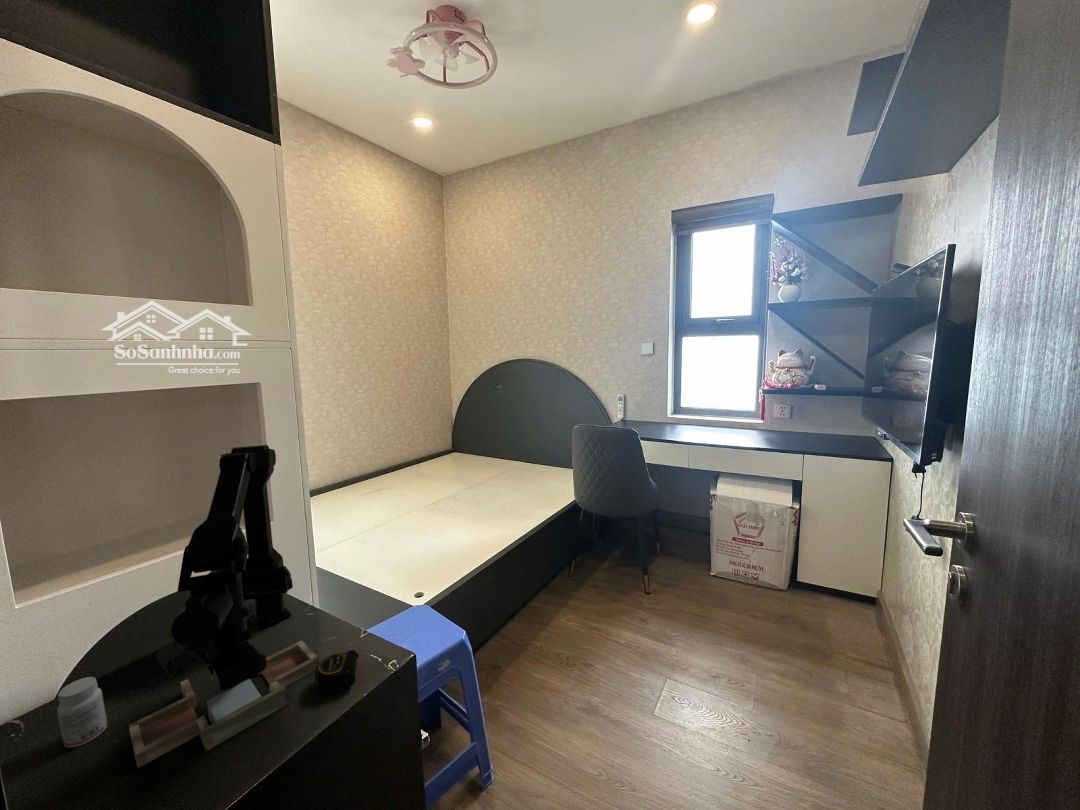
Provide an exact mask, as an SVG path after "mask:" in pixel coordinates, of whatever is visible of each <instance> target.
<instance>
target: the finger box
mask: <svg viewBox="0 0 1080 810" xmlns="http://www.w3.org/2000/svg"><path fill="white" fill-rule="evenodd" d="M266 663H267V667H266V668H265V669H264V670H263V671H261V672H259V673H257V674H256V675H257V676H260V675H262V677H263V678H264V680H265V681H266V682H267V684H268V689H269V693H267V694H265V695H263V696H261V698H259V699H258V700H256V701H254V702H252V703H250V704H248V705H247V706H245V707H243V708H241V709H239V710H237V711H236V712H234V713H232V714H230V715H228V716H227V717H225V718H223V719H221V720H219V721H217V722H216V723H214V724H210V725H209V723H208V721H207V719H206V716H205V715H202V716H200V717H198V716H197V714H196V711H195V708H198V705H197V700H196V699H197V698H196V694H195V692H194V690H193V688H192V685H191V683H190V681H189V679H188V678H187V679H185V680H183V681H181V682H179V683H180V690H181V694H182V696H183V698H182V699H179V700H177V701H175V702H173V703H171V704H169V705H167V706H164V707H163V708H161V709H159V710H156V711H154V712H153V713H150V714H149V715H146V716H144V717H143V718H140V719H139V720H136V721H134V722H131V723H130V724H129V725H128V730H129V736H130V739H131V745H132V749H133V753H134V758H135V762H136V767H137V769H139V768H141V767H143V766H145V765H146V764H149V763H151V762H152V761H154V760H156V759H158V758H159V757H161V756H163V755H165V754H167V753H168V752H170V751H172V750H174V749H176V748H178V747H179V746H181V745H182V744H185V743H187V742H188V741H190V740H192V739H194V738H196V737H198V736H199V738H200V740H201V743H202V744H203V748H204V750H205V752H208V751H210V750H212V749H213V748H214V747H217V746H219V745H220V744H222V743H224V742H225V741H227V740H228V739H229V740H230V738H232V737H234V736H235V735H238V734H239V733H241V732H242V731H245V730H246V729H247V728H249V727H251V726H253V725H254V724H257V722H259V721H261V720H263V719H265V718H266V717H268V716H270V715H272V714H274V713H276V712H277V711H278V710H280V709H283V708H284V707H285V706H287V705H288V698H287V689H286V687H288V686H290V685H292V684H293V683H295V682H297V681H299V680H301V679H302V678H305V677H306V676H308V675H310V674H312V673H313V672H315V671H316V669H317V666H318V665H319V663H320V660H319V657H318V656H317V655H316V654H315V653H314V651H312V650H311V648H309V646H308V645H307V644H306V643H305V642H304V641H303V640H300V641H297V642H296V643H293V644H291V645H290V646H287V647H285V648H283V649H281V650H279V651H277V652H275V653H273V654H271V655H269V656H266Z"/></svg>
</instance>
